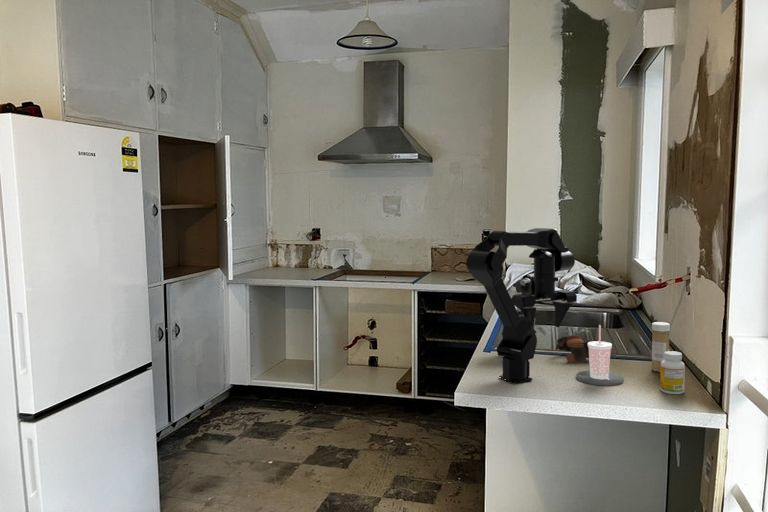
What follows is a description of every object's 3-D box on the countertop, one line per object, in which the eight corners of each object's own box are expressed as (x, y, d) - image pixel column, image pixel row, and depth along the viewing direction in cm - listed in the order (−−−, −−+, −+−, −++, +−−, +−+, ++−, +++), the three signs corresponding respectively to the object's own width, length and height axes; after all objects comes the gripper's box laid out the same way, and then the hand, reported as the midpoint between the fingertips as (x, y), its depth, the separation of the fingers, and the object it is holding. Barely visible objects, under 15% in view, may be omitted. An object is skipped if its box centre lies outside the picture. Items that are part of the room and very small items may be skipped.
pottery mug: (558, 364, 177) (552, 337, 180) (562, 370, 185) (556, 345, 188) (599, 356, 173) (593, 329, 176) (602, 363, 181) (595, 337, 184)
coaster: (599, 388, 152) (599, 386, 152) (566, 376, 163) (566, 374, 163) (634, 381, 157) (634, 379, 157) (600, 370, 168) (600, 368, 168)
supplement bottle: (663, 386, 152) (664, 349, 152) (686, 390, 149) (687, 352, 148) (657, 392, 148) (658, 353, 147) (680, 396, 145) (682, 356, 144)
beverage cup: (587, 379, 158) (588, 327, 156) (586, 372, 164) (587, 322, 162) (612, 380, 156) (613, 328, 155) (610, 374, 162) (611, 323, 161)
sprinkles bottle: (672, 371, 166) (673, 323, 164) (662, 374, 163) (664, 325, 162) (657, 367, 169) (658, 320, 168) (647, 370, 167) (648, 322, 166)
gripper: (551, 268, 177) (551, 320, 178) (499, 272, 169) (499, 327, 171) (578, 272, 167) (578, 327, 168) (523, 277, 159) (523, 334, 161)
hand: (544, 328), depth 167 cm, fingers open, 9 cm apart
